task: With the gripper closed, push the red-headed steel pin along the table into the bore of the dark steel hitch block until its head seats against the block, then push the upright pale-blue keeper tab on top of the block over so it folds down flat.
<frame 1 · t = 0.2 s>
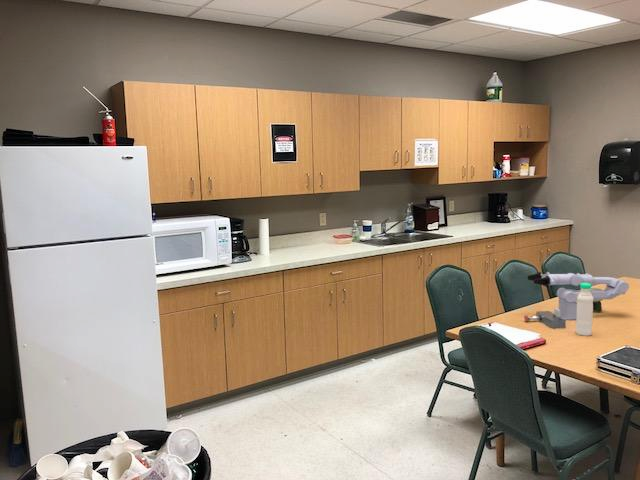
hand: (531, 279, 276), 22 cm above the table, tool horizontal, fingers open, 7 cm apart
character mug: (595, 311, 290), on the table
water bottle: (583, 334, 251), on the table
hitch block: (550, 323, 270), on the table
keeper tab: (557, 312, 265), point 7 cm above the table, hinge at 0.0°
pin: (535, 318, 274), point 2 cm above the table, slide at 0.0 cm
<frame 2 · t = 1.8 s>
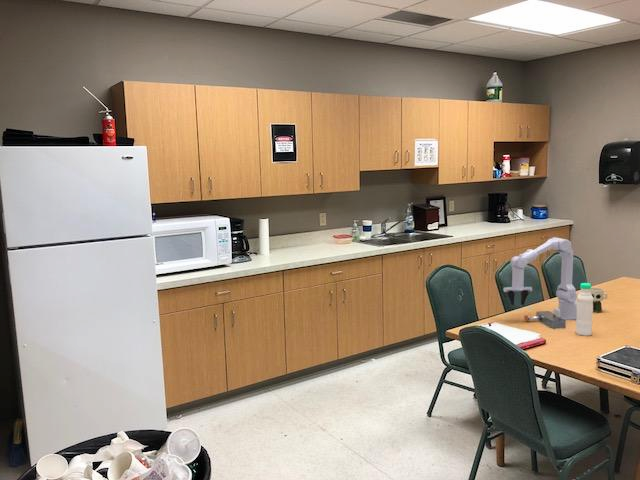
hand: (517, 304, 273), 9 cm above the table, tool pointing down, fingers open, 5 cm apart
nothing on the table moved.
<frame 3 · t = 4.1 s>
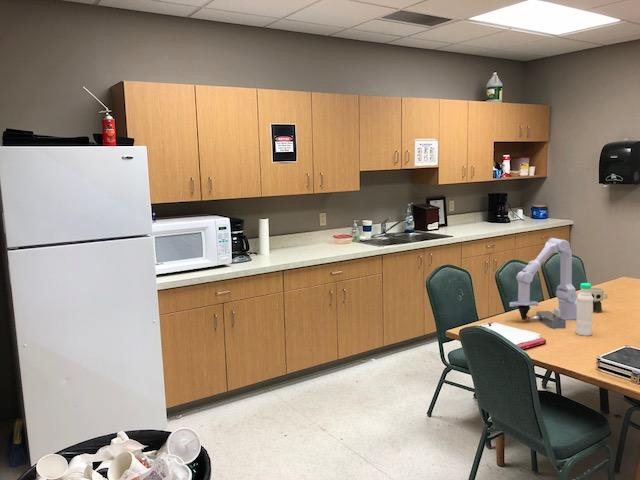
hand: (523, 319, 274), 1 cm above the table, tool pointing down, fingers closed
pin: (535, 318, 274), point 2 cm above the table, slide at 0.1 cm, touching gripper
everything else where it was.
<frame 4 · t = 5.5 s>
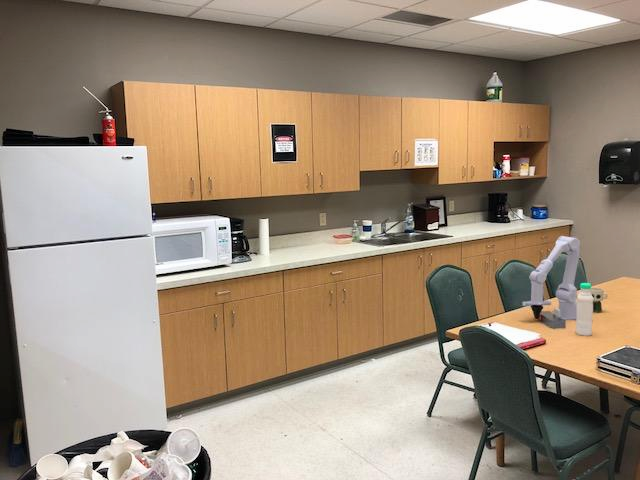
hand: (536, 318, 274), 1 cm above the table, tool pointing down, fingers closed
pin: (548, 317, 274), point 2 cm above the table, slide at 7.0 cm, touching gripper, hitch block
everything else where it was.
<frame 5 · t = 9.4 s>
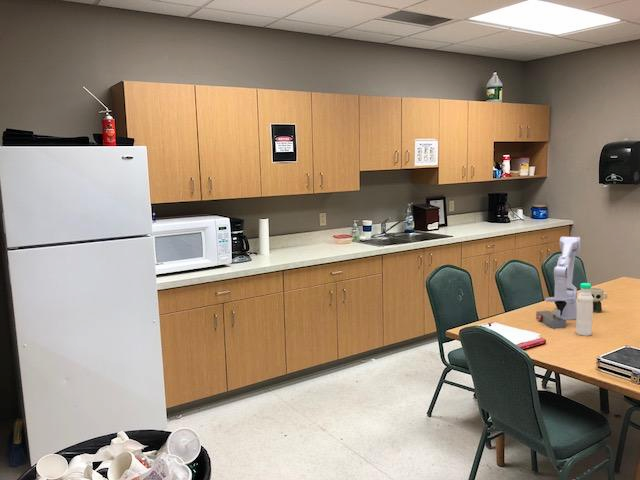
hand: (559, 315, 265), 5 cm above the table, tool pointing down, fingers closed, pressing on keeper tab
keeper tab: (557, 312, 265), point 7 cm above the table, hinge at 0.2°, touching gripper
pin: (548, 317, 274), point 2 cm above the table, slide at 7.0 cm, touching hitch block
everything else where it was.
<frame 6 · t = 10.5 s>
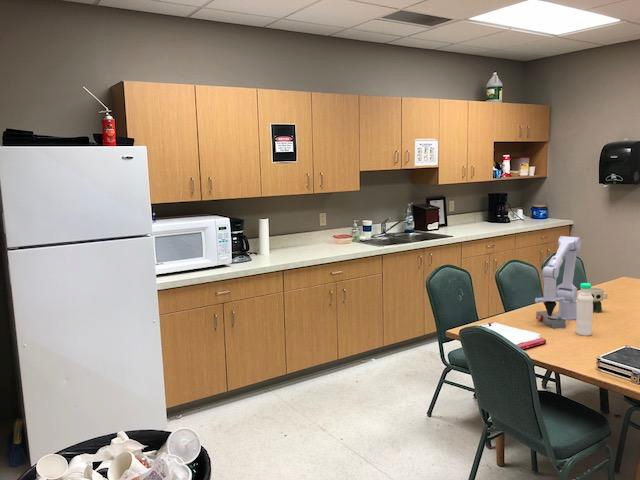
hand: (549, 315, 266), 5 cm above the table, tool pointing down, fingers closed
keeper tab: (552, 316, 266), point 5 cm above the table, hinge at 85.1°
everything else where it was.
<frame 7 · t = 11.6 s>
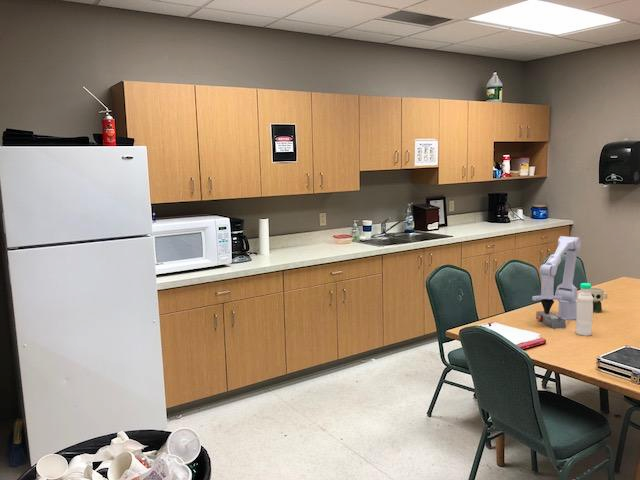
hand: (546, 313, 265), 6 cm above the table, tool pointing down, fingers closed
keeper tab: (552, 317, 266), point 4 cm above the table, hinge at 91.8°, touching hitch block
everything else where it was.
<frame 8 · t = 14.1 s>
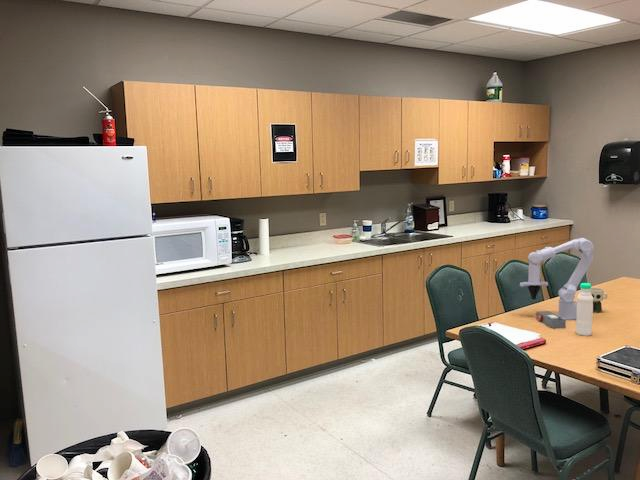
hand: (533, 298, 282), 10 cm above the table, tool pointing down, fingers closed
keeper tab: (552, 317, 266), point 4 cm above the table, hinge at 90.8°
everything else where it was.
at the end: pin slide at 7.0 cm; keeper tab at +91° (first picture: +0°); keeper tab touching nothing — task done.
